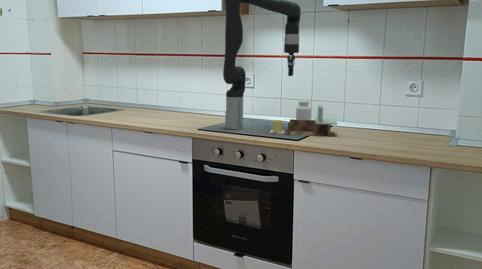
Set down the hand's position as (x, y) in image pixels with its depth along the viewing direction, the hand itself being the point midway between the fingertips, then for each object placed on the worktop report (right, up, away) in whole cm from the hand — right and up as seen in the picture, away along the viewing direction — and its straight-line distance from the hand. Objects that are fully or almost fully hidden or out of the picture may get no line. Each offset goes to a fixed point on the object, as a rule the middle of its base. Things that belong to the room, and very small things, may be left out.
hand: (290, 75), depth 232 cm
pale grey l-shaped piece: (+17, -24, -7) cm, 30 cm away
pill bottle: (+8, -27, +15) cm, 32 cm away
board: (+4, -31, -4) cm, 31 cm away
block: (-7, -29, -3) cm, 30 cm away
